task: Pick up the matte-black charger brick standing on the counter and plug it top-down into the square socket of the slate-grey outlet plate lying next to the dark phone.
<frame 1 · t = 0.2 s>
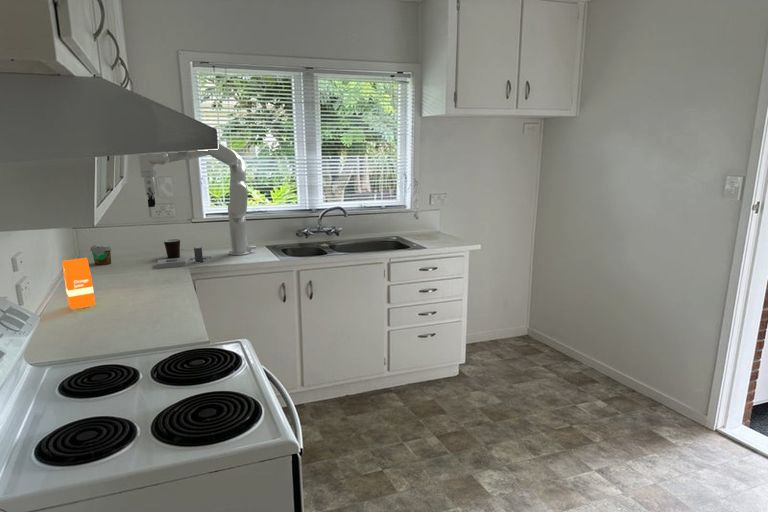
hand: (152, 205, 279), 31 cm above the counter, tool pointing down, fingers open, 9 cm apart
outlet plate: (171, 265, 275), on the counter
phone: (201, 259, 290), on the counter
charger: (199, 261, 282), on the counter
food container: (100, 264, 278), on the counter
coffee mug: (175, 257, 294), on the counter
orange juice: (82, 307, 209), on the counter
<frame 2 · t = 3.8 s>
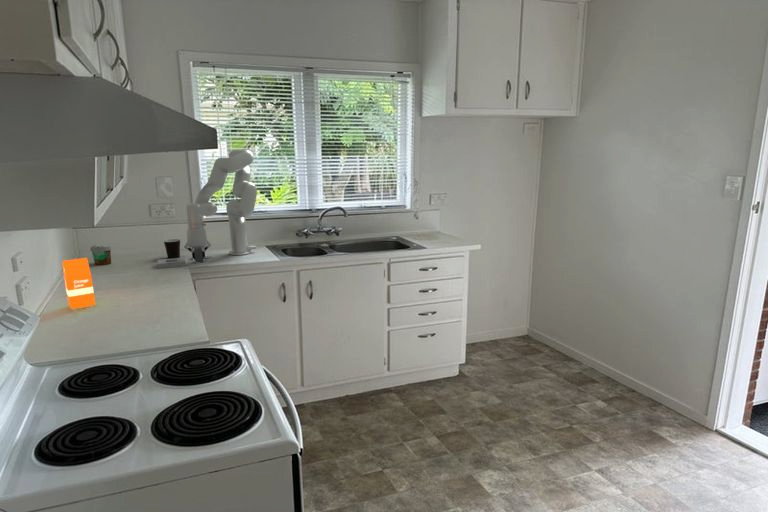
hand: (198, 258, 281), 2 cm above the counter, tool pointing down, fingers closed on charger, 4 cm apart
charger: (199, 261, 282), on the counter, touching gripper
everything else where it was.
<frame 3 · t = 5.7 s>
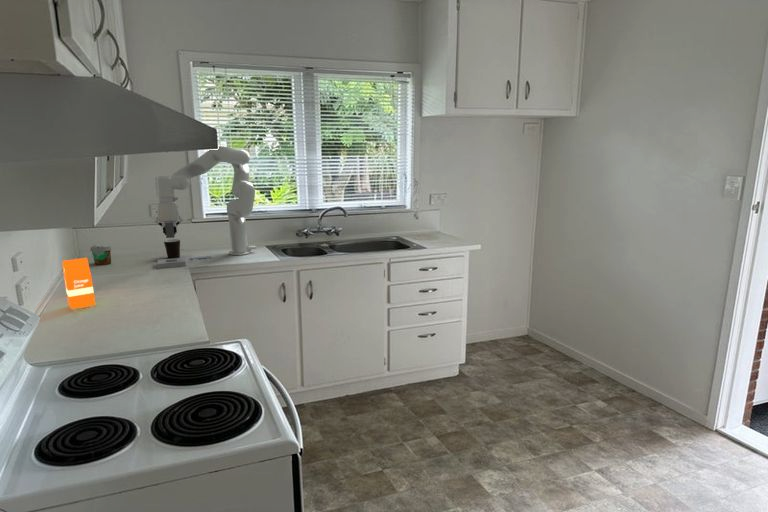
hand: (170, 233, 271), 17 cm above the counter, tool pointing down, fingers closed on charger, 4 cm apart
charger: (170, 237, 272), point 15 cm above the counter, touching gripper
everything else where it was.
when the fingers open (3 cm above the counter, at t = 8.0 s): charger drops 1 cm, resting in outlet plate.
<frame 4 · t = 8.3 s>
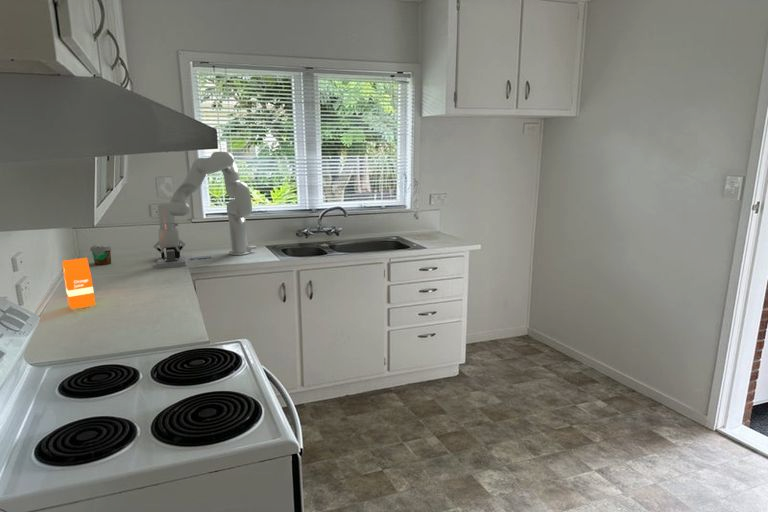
hand: (171, 258, 274), 3 cm above the counter, tool pointing down, fingers open, 6 cm apart
charger: (171, 265, 275), resting in outlet plate
everything else where it was.
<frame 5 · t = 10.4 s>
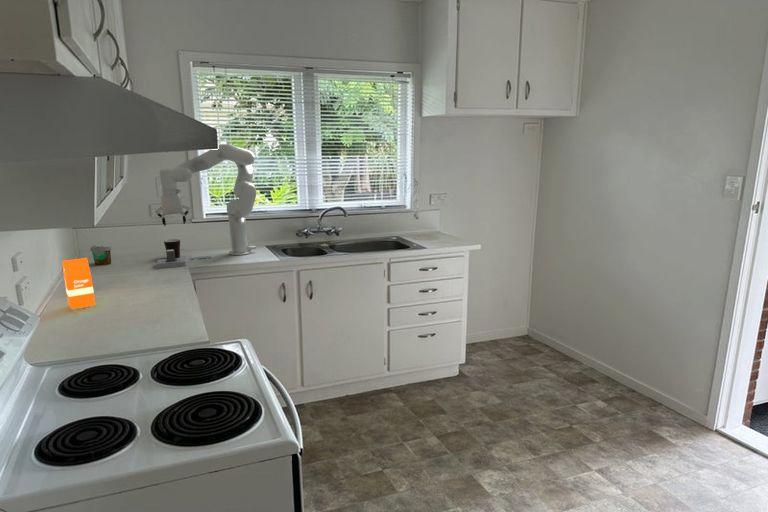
hand: (174, 224, 274), 22 cm above the counter, tool pointing down, fingers open, 9 cm apart
nothing on the counter moved.
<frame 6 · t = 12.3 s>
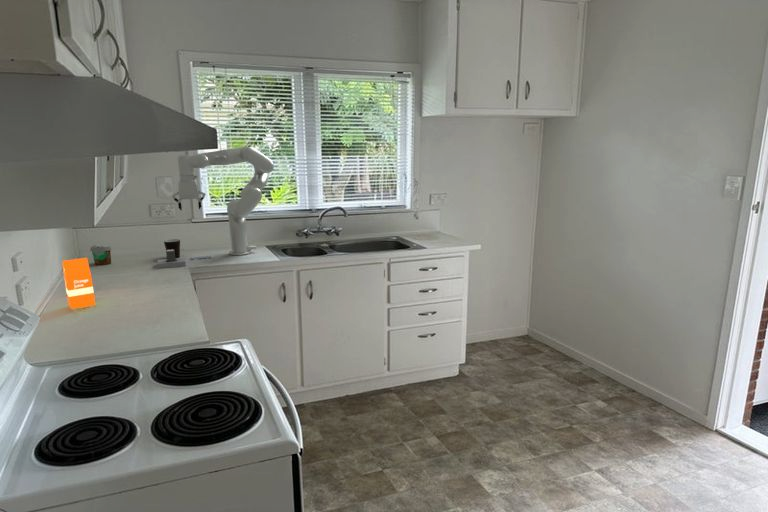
hand: (190, 209, 281), 28 cm above the counter, tool pointing down, fingers open, 9 cm apart
nothing on the counter moved.
at the end: charger 0.0 cm off-centre on the outlet plate, point 0.0 cm above the outlet plate's base; charger tilted 0°; the gripper is holding nothing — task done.
